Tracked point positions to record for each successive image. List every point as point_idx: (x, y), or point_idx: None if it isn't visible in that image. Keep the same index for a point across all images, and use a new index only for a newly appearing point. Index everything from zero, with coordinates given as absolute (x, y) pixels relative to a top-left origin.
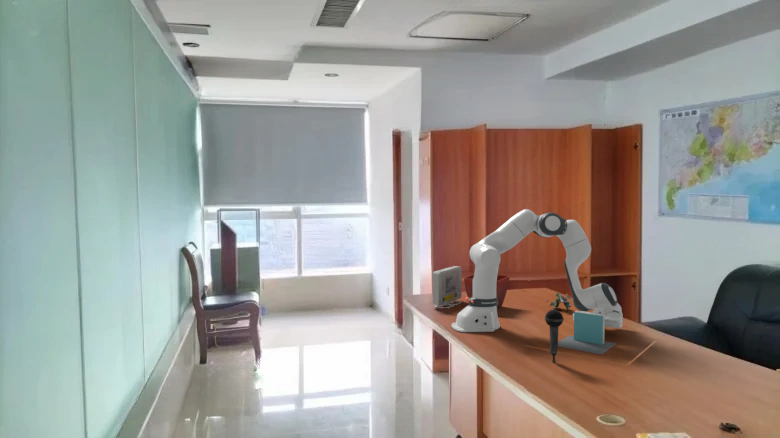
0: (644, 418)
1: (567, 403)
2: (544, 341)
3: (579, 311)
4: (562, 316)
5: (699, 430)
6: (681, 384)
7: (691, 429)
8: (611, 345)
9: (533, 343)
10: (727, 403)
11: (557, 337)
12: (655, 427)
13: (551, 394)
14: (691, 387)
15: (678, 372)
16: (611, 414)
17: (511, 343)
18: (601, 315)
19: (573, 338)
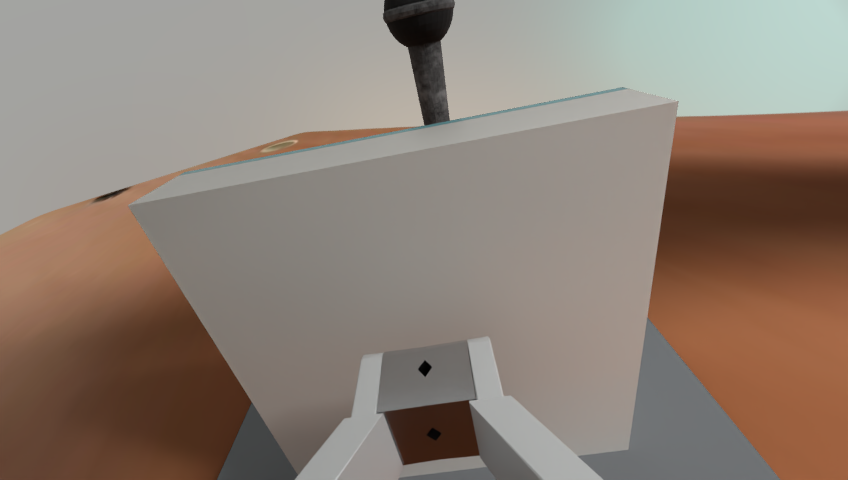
0: (233, 161)
1: (340, 137)
2: (710, 266)
3: (599, 113)
4: (384, 3)
5: (164, 176)
6: (81, 256)
7: (175, 173)
8: (238, 472)
9: (692, 218)
10: (35, 241)
11: (417, 90)
12: (223, 159)
13: (371, 135)
14: (63, 256)
15: (8, 322)
16: (278, 149)
17: (740, 174)
18: (197, 174)
19: (642, 430)
